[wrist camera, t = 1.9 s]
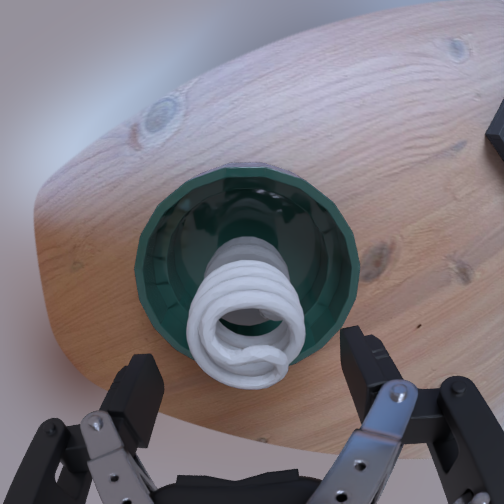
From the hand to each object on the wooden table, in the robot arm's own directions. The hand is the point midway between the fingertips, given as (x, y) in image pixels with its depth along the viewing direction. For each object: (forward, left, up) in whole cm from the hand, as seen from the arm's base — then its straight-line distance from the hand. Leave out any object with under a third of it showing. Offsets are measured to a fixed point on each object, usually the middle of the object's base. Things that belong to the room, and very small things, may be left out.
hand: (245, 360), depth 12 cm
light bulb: (0, 0, -12) cm, 12 cm away
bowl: (0, 0, -12) cm, 12 cm away
